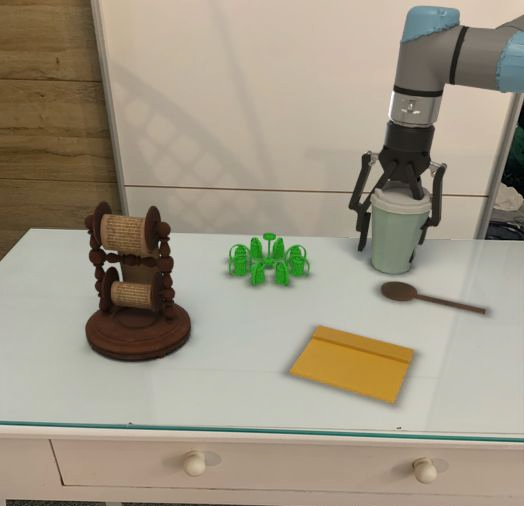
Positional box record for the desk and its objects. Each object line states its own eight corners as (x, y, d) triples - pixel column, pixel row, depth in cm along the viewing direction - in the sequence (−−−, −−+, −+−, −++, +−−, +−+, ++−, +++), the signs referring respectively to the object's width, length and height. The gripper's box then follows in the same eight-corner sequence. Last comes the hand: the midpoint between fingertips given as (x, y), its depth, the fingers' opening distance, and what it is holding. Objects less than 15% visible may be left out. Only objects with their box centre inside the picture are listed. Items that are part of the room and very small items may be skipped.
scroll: (202, 317, 86) (197, 190, 74) (174, 374, 74) (163, 233, 62) (111, 307, 88) (93, 181, 76) (69, 360, 76) (40, 221, 64)
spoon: (486, 307, 91) (488, 300, 90) (482, 324, 87) (484, 318, 86) (384, 284, 97) (385, 278, 96) (375, 299, 92) (376, 293, 91)
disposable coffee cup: (430, 278, 99) (450, 196, 91) (379, 287, 96) (395, 203, 87) (396, 253, 107) (412, 176, 98) (348, 261, 103) (360, 181, 95)
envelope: (412, 357, 79) (414, 347, 78) (392, 407, 70) (395, 396, 68) (319, 333, 83) (320, 323, 82) (289, 377, 74) (290, 366, 73)
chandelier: (295, 299, 91) (298, 260, 87) (212, 281, 95) (211, 244, 91) (319, 262, 103) (323, 226, 99) (244, 248, 107) (245, 213, 103)
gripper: (340, 116, 87) (323, 249, 100) (478, 137, 81) (441, 276, 94) (353, 108, 93) (336, 234, 106) (483, 127, 86) (448, 259, 100)
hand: (385, 254), depth 100 cm, fingers open, 8 cm apart
